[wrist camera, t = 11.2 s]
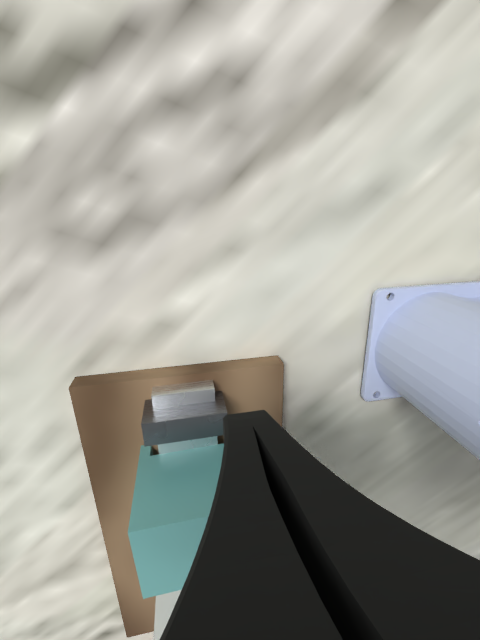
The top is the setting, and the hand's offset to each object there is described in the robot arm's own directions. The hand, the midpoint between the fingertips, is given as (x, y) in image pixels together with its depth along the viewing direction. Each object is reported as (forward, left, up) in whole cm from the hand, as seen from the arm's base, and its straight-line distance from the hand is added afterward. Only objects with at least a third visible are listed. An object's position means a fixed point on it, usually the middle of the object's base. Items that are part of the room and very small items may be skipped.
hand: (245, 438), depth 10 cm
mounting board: (+2, +13, -9) cm, 16 cm away
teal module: (+2, +9, -8) cm, 12 cm away
